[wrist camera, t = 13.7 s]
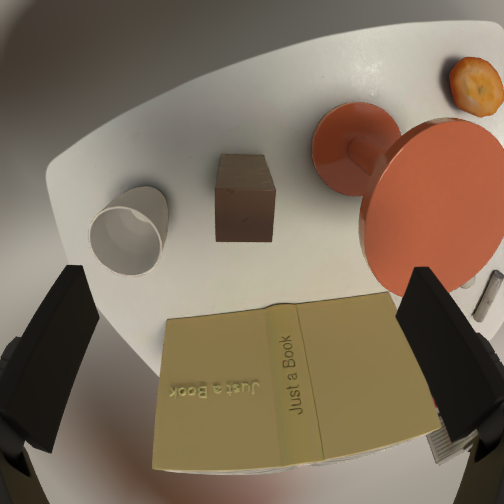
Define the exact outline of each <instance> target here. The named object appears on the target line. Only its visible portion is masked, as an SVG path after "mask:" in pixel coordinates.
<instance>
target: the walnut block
mask: <svg viewBox="0 0 504 504" xmlns="http://www.w3.org/2000/svg"><path fill="white" fill-rule="evenodd" d="M275 197H276V189H275V186H274V183H273V180H272V177H271V174H270V171H269V168H268V165H267V162H266V160H265V157H264V155H239V154H222V155H221V159H220V164H219V169H218V175H217V180H216V185H215V237H216V242H272V236H273V223H274V210H275Z"/></svg>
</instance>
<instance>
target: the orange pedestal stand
mask: <svg viewBox="0 0 504 504" xmlns="http://www.w3.org/2000/svg"><path fill="white" fill-rule="evenodd" d="M311 153H312V160H313V164H314V166H315V169H316V171H317V173H318V174H319V176H320V177H321V178H322V180H323V181H324V182H325V183H326V184H327V185H328V186H329V187H331V188H332V189H333V190H335V191H337V192H339V193H341V194H344V195H349V196H363V199H362V203H361V207H360V215H359V239H360V245H361V249H362V253H363V256H364V258H365V260H366V262H367V264H368V266H369V268H370V269H371V271H372V273H373V274H374V276H375V277H376V279H377V280H378V281H379V282H380V283H381V285H382V286H383V287H385V288H386V289H387V290H389V291H390V292H392V293H394V294H396V295H398V296H401V297H403V296H404V293H405V291H406V288H407V286H408V283H409V280H410V277H411V275H412V272H413V269H414V267H429V268H430V269H431V270H432V271H433V273H434V274H435V275H436V277H437V278H438V279H439V281H440V282H441V283H442V285H443V286H444V287H445V289H446V290H447V292H448V293H449V292H451V291H453V290H455V289H457V288H459V287H460V286H462V285H463V284H465V283H466V282H467V281H469V280H470V279H471V278H473V277H474V276H475V275H476V274H477V273H478V272H479V271H480V270H481V269H482V268H483V267H484V266H485V265H486V263H487V262H488V261H489V260H490V258H491V257H492V256H493V254H494V253H495V251H496V250H497V248H498V246H499V245H500V243H501V241H502V239H503V237H504V148H503V147H502V145H501V144H500V143H499V141H498V140H497V139H496V138H495V137H494V136H493V135H492V134H491V133H490V132H489V131H487V130H486V129H484V128H483V127H481V126H479V125H477V124H474V123H472V122H469V121H466V120H462V119H458V118H438V119H433V120H430V121H427V122H424V123H422V124H420V125H418V126H416V127H414V128H412V129H411V130H409V131H408V132H406V133H405V134H403V135H402V136H401V133H400V131H399V128H398V126H397V124H396V123H395V121H394V120H393V118H392V117H391V116H390V115H389V114H388V113H387V112H385V111H384V110H383V109H381V108H379V107H377V106H375V105H372V104H369V103H365V102H349V103H345V104H342V105H339V106H337V107H335V108H333V109H332V110H331V111H329V112H328V113H327V114H326V115H325V116H324V117H323V118H322V119H321V121H320V122H319V124H318V125H317V127H316V129H315V132H314V135H313V138H312V144H311Z"/></svg>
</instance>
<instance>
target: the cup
mask: <svg viewBox="0 0 504 504" xmlns="http://www.w3.org/2000/svg"><path fill="white" fill-rule="evenodd" d="M168 215H169V214H168V207H167V204H166V200H165V198H164V196H163V194H162V193H161V192H160V191H159V190H157V189H155V188H153V187H149V186H144V187H138V188H133V189H131V190H129V191H127V192H125V193H123V194H122V195H120V196H118V197H116V198H115V199H114V200H112V201H111V202H110V203H109V204H108V205H107V206H106V207H105V208H104V209H103V210H102V211H100V212H99V213H98V214H97V215H96V216H95V217H94V219H93V220H92V222H91V224H90V227H89V232H88V239H89V245H90V248H91V250H92V253H93V254H94V256H95V258H96V259H97V260H98V261H99V262H100V263H101V264H102V265H103V266H104V267H105V268H106V269H108V270H110V271H111V272H113V273H115V274H118V275H122V276H127V277H136V276H141V275H144V274H146V273H148V272H150V271H151V270H152V269H154V268H155V266H156V265H157V264H158V262H159V260H160V258H161V254H162V251H163V247H164V243H165V239H166V236H167V230H168Z"/></svg>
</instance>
